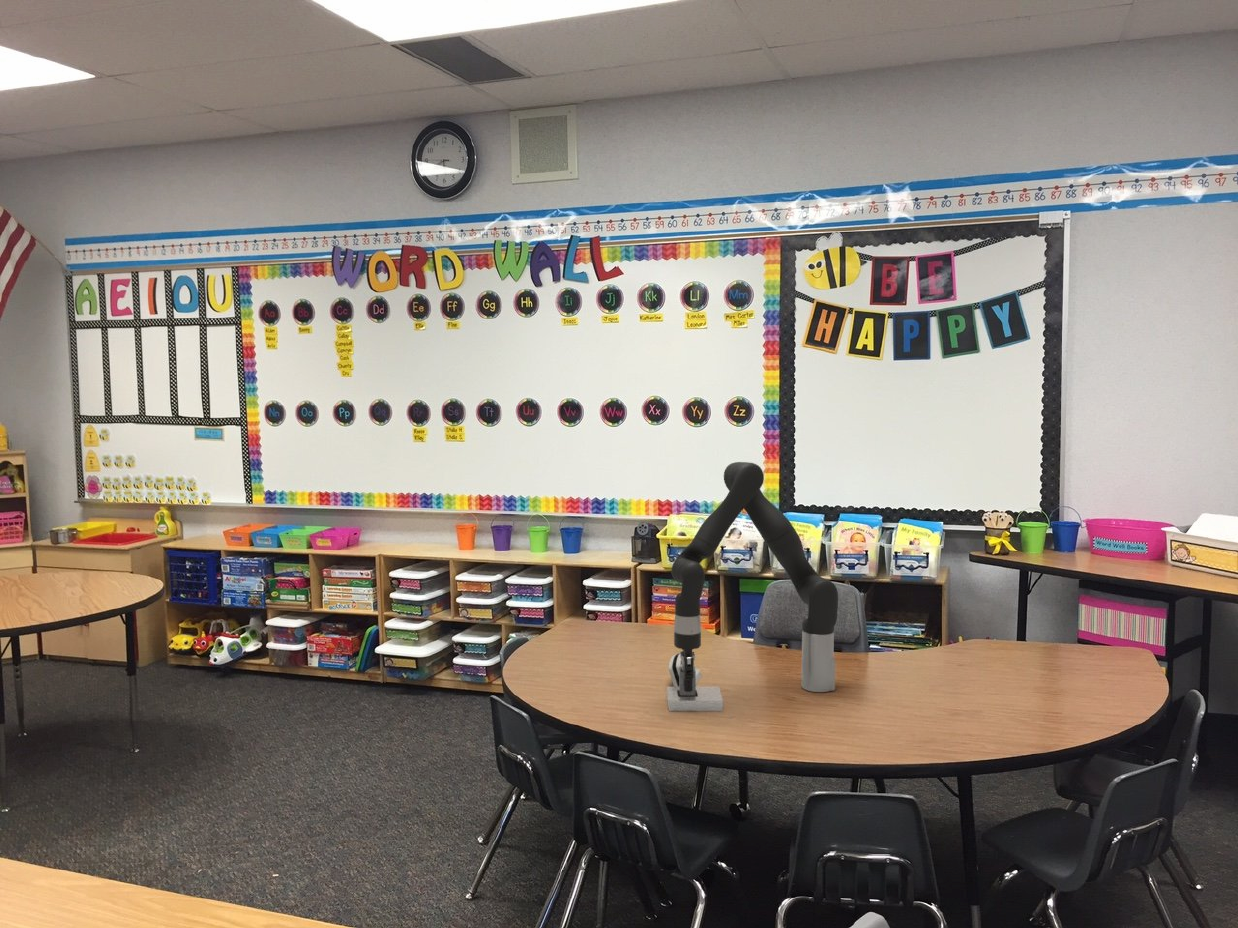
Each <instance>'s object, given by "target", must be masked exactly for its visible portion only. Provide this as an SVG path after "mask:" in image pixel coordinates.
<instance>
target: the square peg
mask: <svg viewBox="0 0 1238 928" xmlns="http://www.w3.org/2000/svg"><path fill="white" fill-rule="evenodd" d="M695 668H696V666H695V667H694V671H693V675H694V677H693V679H692V692H685V690H684V671H683V670H682V667H679V697H696V687H697V684H696V671H695ZM686 674H691V671H686Z"/></svg>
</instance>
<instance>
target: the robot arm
mask: <svg viewBox="0 0 1238 928" xmlns="http://www.w3.org/2000/svg"><path fill="white" fill-rule="evenodd" d="M764 480H765V473H764V471H763V469H762V468H761V466H759V465H758V464H757V463H754V462H748V461H747V462H746V461H736V462H731V463H730V464H728V465H727V466H726V467H725V470H724V472H723V482H724V484H725V487H726V488H727V490H728V493H727V495H726V496H725V498H724V500H723V501H722V502H721V503H720V504H719V505H718V506H717V508H716V509H715V510H713V512H711V514H710V515H708V517H707V518H706V519H705V520H704V521H703V522H702V524H701V526H700V527H699V529H698V530H697V532H696V533H695V535H694V537H693V539H692V540H691V542H690V544H688V545H687V546H686V547H685V548H684V549H683V550H682V552H681V553H679V555H678V556H677V557H676V558H675V559H674V561H673V563H672V566H671V577H672V578H673V579H674V581H676V582H677V583H680V584H681V590H680V591H681V592H679V593H677V594H676V596H675V600H674V603H675V604H674V607H675V608H674V609H675V610H674V611H675V612H674V623H673V625H674V626H673V631H674V632H673V643H674V644H673V645H674V647H675V648H678V649H680V650H681V651H680V652H679V653H680V658H681V664H682V670H683V671H684V690H685V692H692V679H693V677H694V675H693V671H694V665H695V659H696V654H695V651H693V650H696V649H699V648H701V645H702V621H701V598H702V595H703V590H704V585H705V578H706V576H705V574H706V573H705V569H704V568H703V566H702V564H701V563H702V562H703V560H706V559H709V558H711V557H712V556H713V555H714V553H715V552H716V550H717V549H718V547H719V546H720V544H721V542H722V541H723V538H724V537H725V535H726V534H727V532H728V531H729V529H730V527H732V524H733V523H734V522H735V520H736V519H737V518H738V516H739V515H740V514H741V513H742V511H743V510H744V511H745V513H746V514H747V515H748V517H749V518H750V520H751V522H752V523H753V525H754V526H755V528H756V529H757V531H758V533H759V535H760V536H761V538H762V539H763V541H764V542H765V544H766V545H767V547H768V548H769V550H770V551H771V553H772V555H774V557H775V558H776V560H777V562H778V563H779V565H780V566H781V567H782V568H783V569H784V570H785V572H786V574H787V576H788V577H789V579H790V581H791V583H792V585H793V587H794V589H795V591H796V593H797V595H798V596H799V598H800V599H801V601H802V602H803V603H804V604H805V605H808V611H807V613H808V614H807V618H805V619H804V620H803V621H802V625H801V628H802V629H801V631H802V632H801V634H802V635H801V679H800V681H801V688H802V689H803V690H805V691H807V692H808V691H809V692H813V693H826V692H832V691H835V690H836V658H835V656H834V654H835V653H834V652H835V651H834V650H835V649H834V648H835V647H834V645H835V644H834V643H835V641H834V640H835V626H836V624H837V620H838V612H839V611H838V607H839V592H838V589H837V586H836V584H834V582H832V581H831V580H829V579H826V578H824V577H822V576H820V574H818V573H817V571H816V570H815V569H814V567H813V566H812V565H811V563H810V562H809V560H808V559H807V556H806V555H805V550H804V547H803V544H802V540H801V538H800V536H799V534H798V532H797V530H796V529H795V528H794V526H793V524H792V523H791V522H790V520H789V519H788V517H787V516H786V515H784V514H783V512H782V511H781V510H780V509H778V508H777V506H775V505H774V503H772V501H771V502H770V500H769V499H767V496H765V495H764V493H763V492H762V490H761V488H762V486H763V484H764ZM686 671H691V674H686Z"/></svg>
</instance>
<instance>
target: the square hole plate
mask: <svg viewBox="0 0 1238 928" xmlns="http://www.w3.org/2000/svg"><path fill="white" fill-rule="evenodd" d="M666 699H667V700H666V701H667V705H668V706H667V708H669V709H668V712H724V699H723V695H722V692H721V689H720V686H696V697H679V687H674V686H666Z"/></svg>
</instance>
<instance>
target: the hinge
mask: <svg viewBox="0 0 1238 928" xmlns="http://www.w3.org/2000/svg"><path fill="white" fill-rule="evenodd" d="M679 667H682V664H681V658H680V652H677V653H675V654H674V655H672V656H671V658H670V660H669V664H668V672H669V675H670V678H671V681H672V684H673V685H672V686H673V687H679ZM694 667H695V671H696V685H697V684H698V683H697V682H699V681H700V679H701V677H702V675H703V674H702V672H701V670H700V669H698V668H696V665H695V664H694Z"/></svg>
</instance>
